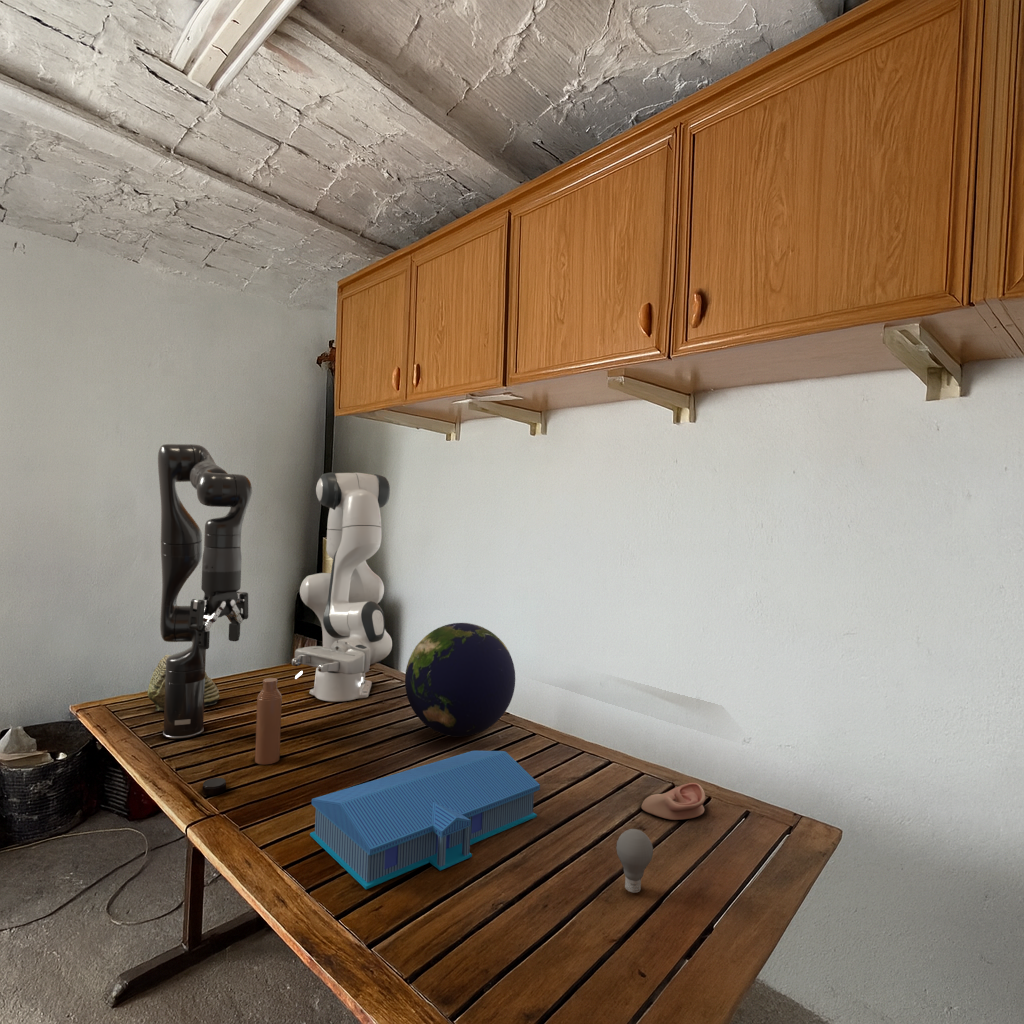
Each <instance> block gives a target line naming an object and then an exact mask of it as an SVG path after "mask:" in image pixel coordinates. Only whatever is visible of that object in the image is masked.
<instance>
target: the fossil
mask: <svg viewBox="0 0 1024 1024" xmlns="http://www.w3.org/2000/svg"><path fill="white" fill-rule="evenodd" d="M171 655H172V654H165V655H164V656H163V657H162V658H161V659H160V660H159V662H158V663H157V666H156V667H155V669H154V670H153V672H152V675H151V677H150V680H149V684H148V688H147V697H148V699H149V700H150V701H152V703H153V704H154V706H155V711H158V712H159V711H162V712H163V711H164V705H165V674H166V660H167V658H168V657H169V656H171ZM220 698H221V696H220V690H219V688H218V686H217V685H216V683H215V682H214V681H213V679H212V678H211V677H209V675H208V674H207V672H206V671H205V693H204V707H207V706H213V705H215V704H217V703H218V701H219V699H220Z"/></svg>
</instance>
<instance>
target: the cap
mask: <svg viewBox="0 0 1024 1024" xmlns="http://www.w3.org/2000/svg"><path fill="white" fill-rule="evenodd" d="M226 789H227V781H226V779H225V778H223V777H213V778H208V779H206V780H205V781H204V782H203V783H202V794H203V795H204V796H206V797H207V796H209V797H213V796H219V795H221V794H223V793H224V792H225V791H226Z"/></svg>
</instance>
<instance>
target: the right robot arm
mask: <svg viewBox="0 0 1024 1024" xmlns="http://www.w3.org/2000/svg"><path fill="white" fill-rule="evenodd" d="M315 494H316V497H317V500H318V503H320V505H322V506H323V507H326V508H328V509H329V510H328V516H327V526H326V528H327V530H326V546H325V547H326V549H325V550H326V553H327V555H328V557H329V558H330V559H332V564H331V571H330V572H319V573H314V574H310V575H306V577H305V578H304V579H303V580H302V582H301V584H300V587H299V595H300V599H301V601H302V602H303V604H304V605H305V606H306V607H307V608H309V609H310V610H312V611H313V612H314V614H315V615H316V616H317V618H318V620H319V623H320V625H321V631H322V646H321V645H312V646H305V647H299V648H296V649H295V651H294V658H292V659H291V666H293V667H299V666H301V665H304V666H307V667H308V666H309V667H313V668H315V675H314V683H313V684H314V686H313V688H311V689H309V695H312V696H314V697H315V698H316V699H317V700H320V701H325V702H337V703H339V702H347V701H353V700H356V699H365V698H368V697H369V695H370V691H371V689H372V685H373V682H372V681H371V680H368V679H366V674H367V673H368V672H370V665H374V664H376V663H379V662H381V661H383V660H384V659H386V658H387V657H389V655H390V653H391V651H392V649H393V640H392V637H391V635H390V634H389V633H388V632H387V629H386V619H385V614H384V611H383V609H382V607H381V606H380V605H379V603H381V601H382V600H383V597H384V593H385V584H384V582H383V580H382V578H381V577H380V576H379V575H378V574H376V573H375V572H374V571H373V570H372V569H371V567H370V566H369V565H368V562H367V560H369V559H371V558H372V557H373V556H374V555H375V554H376V553H377V552H378V551H379V549H380V548H381V544H382V535H383V534H382V533H383V532H382V517H381V508H383V507H385V506H386V505H387V504H388V502H389V500H390V495H391V486H390V482H389V481H388V479H387V477H386V476H384V475H380V474H370V473H365V472H326V473H323V474H321V475H320V476H319V478H318V480H317V483H316V487H315ZM302 675H303V670H301V671H299V672H298V673H297V674H296V675H295V677H294V679H295V680H297V679H298V678H299V677H300V676H302Z"/></svg>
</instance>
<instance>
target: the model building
mask: <svg viewBox="0 0 1024 1024" xmlns="http://www.w3.org/2000/svg"><path fill="white" fill-rule="evenodd" d="M538 791H541V784H540V783H539V782H538V781H537V780H536V779H535V778H534V777H533V776H532V775H531V774H530V773H529V772H527V771H526V769H524V768H523V766H521V764H519V762H517V761H516V760H515V759H514V757H512V756H511V755H510V754H509V753H508V752H507V750H471V751H467V752H464V753H460V754H457V755H454V756H449V757H447V758H444V759H441V760H437V761H434V762H431V763H427V764H423V765H420V766H417V767H414V768H410V769H407V770H403V771H400V772H397V773H394V774H390V775H387V776H384V777H381V778H380V777H379V778H377V779H374V780H371V781H366V782H364V783H360V784H357V785H354V786H350V787H347V788H344V789H339V790H337V791H334V792H330V793H327V794H324V795H319V796H316V797H314V798H311V806H313V807H314V808H315V817H314V831H311V832H310V833H309V836H310V838H312V839H313V840H314V841H315V842H316V843H317V845H319V846H320V847H321V848H322V849H323V850H325V852H326V853H327V854H329V856H330V857H331V858H333V859H334V860H335V861H336V862H337V863H338V864H339V865H340V866H341V867H342V868H343V869H344V870H345V871H346V872H347V874H349V875H350V876H351V877H352V878H353V879H354V880H355V881H356V882H357V883H359V885H361V886H362V887H363V888H364V890H369V889H371V888H373V887H375V886H378V885H381V884H382V883H385V882H388V881H389V880H392V879H394V878H397V877H399V876H402V875H404V874H406V873H408V872H410V871H413V870H416V869H417V868H420V867H423V866H424V865H427V864H429V863H430V864H431V865H432V866H433V867H434V868H436V869H437V870H438V871H440V872H441V871H443V870H445V869H448V868H450V867H452V866H455V865H457V864H459V863H461V862H463V861H465V860H468V859H471V858H473V853H471V852H470V851H471V846H472V845H474V844H476V843H478V842H482V841H484V840H486V839H488V838H490V837H493V836H495V835H497V834H499V833H502V832H505V831H506V830H507V831H508V830H510V829H512V828H513V827H516V826H519V825H520V824H523V823H525V822H527V821H530V820H532V819H535V818H537V817H538V814H537V813H535V812H534V798H535V797H534V796H535V792H538Z"/></svg>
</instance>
